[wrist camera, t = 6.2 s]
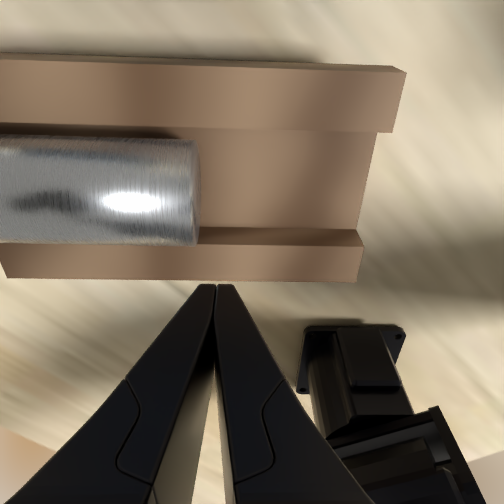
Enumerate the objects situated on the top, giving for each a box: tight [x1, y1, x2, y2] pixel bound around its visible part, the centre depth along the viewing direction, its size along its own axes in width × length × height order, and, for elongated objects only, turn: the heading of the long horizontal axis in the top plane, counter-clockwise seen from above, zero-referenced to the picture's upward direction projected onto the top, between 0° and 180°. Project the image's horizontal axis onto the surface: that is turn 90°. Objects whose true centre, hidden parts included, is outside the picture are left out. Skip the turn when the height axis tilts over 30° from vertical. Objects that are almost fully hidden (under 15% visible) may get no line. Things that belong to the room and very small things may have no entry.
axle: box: [0, 134, 201, 247], centre depth 14 cm, size 14×4×4 cm, turn 88°
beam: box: [0, 53, 407, 282], centre depth 16 cm, size 16×9×4 cm, turn 88°
